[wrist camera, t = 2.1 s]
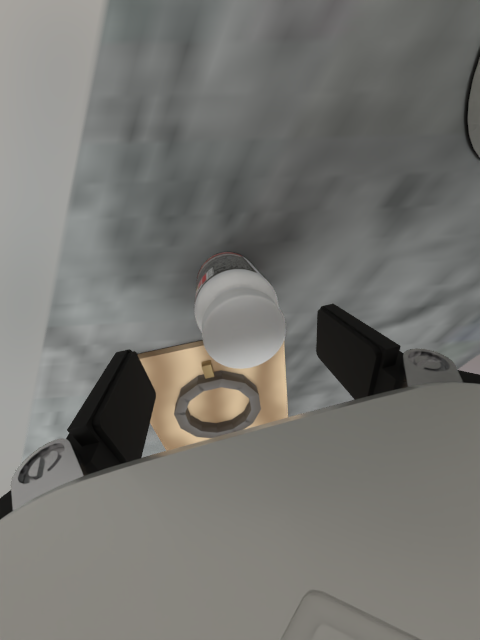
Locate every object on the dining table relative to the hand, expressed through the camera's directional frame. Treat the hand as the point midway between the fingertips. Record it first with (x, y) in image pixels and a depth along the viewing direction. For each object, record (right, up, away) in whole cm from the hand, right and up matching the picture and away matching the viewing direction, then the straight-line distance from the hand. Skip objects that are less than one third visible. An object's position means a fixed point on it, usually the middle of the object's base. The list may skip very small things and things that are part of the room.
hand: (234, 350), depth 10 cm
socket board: (-3, -8, +16) cm, 18 cm away
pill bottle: (-1, +5, +9) cm, 11 cm away
